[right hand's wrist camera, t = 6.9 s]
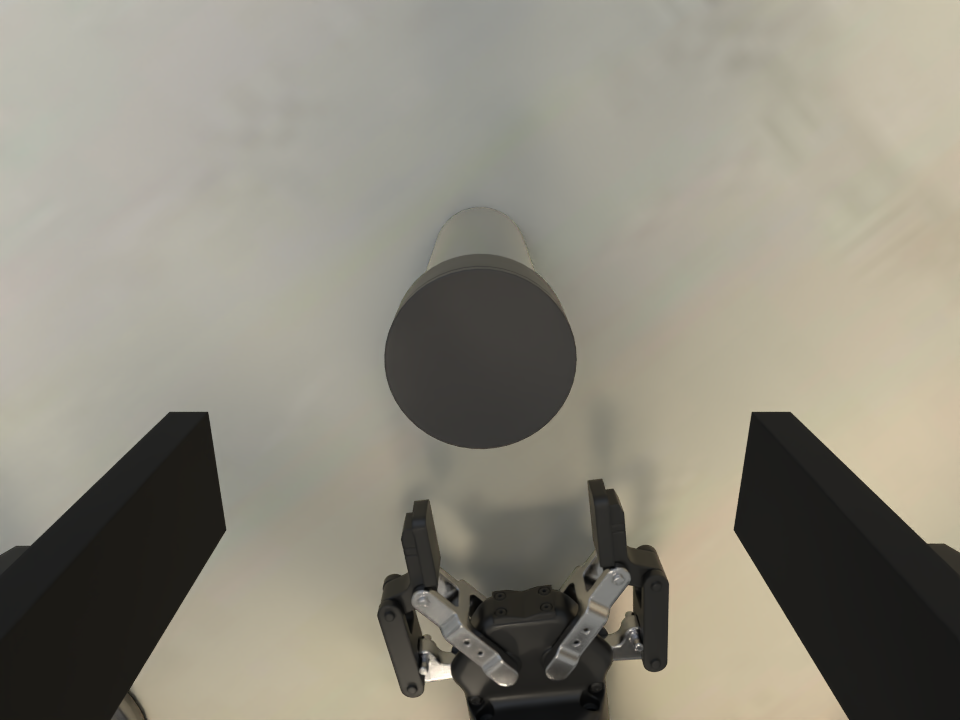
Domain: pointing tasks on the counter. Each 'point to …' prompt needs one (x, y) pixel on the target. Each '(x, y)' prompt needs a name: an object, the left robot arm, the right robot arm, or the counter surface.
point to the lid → (480, 352)
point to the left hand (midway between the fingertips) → (507, 498)
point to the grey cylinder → (480, 237)
